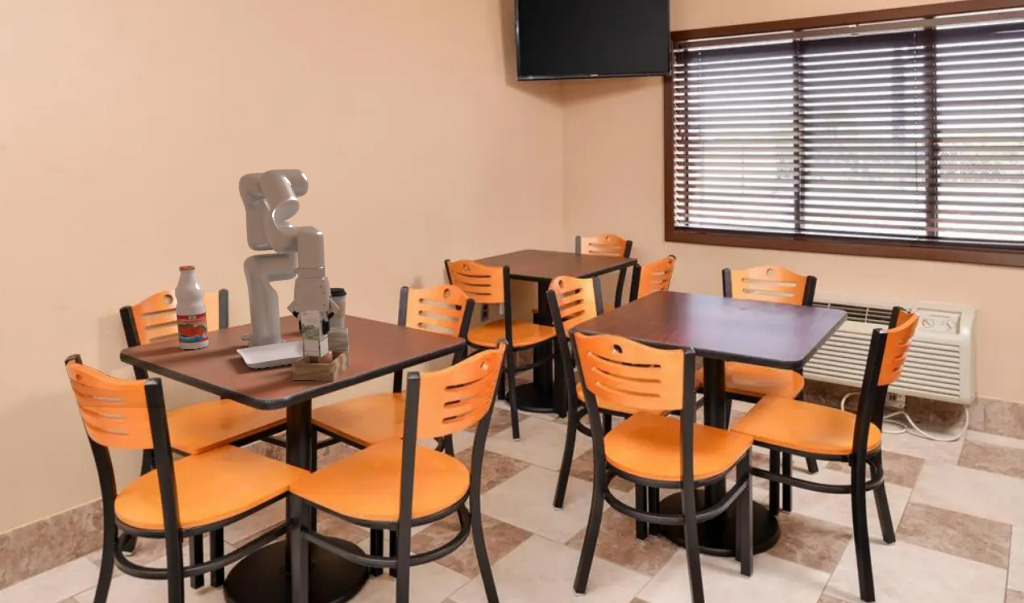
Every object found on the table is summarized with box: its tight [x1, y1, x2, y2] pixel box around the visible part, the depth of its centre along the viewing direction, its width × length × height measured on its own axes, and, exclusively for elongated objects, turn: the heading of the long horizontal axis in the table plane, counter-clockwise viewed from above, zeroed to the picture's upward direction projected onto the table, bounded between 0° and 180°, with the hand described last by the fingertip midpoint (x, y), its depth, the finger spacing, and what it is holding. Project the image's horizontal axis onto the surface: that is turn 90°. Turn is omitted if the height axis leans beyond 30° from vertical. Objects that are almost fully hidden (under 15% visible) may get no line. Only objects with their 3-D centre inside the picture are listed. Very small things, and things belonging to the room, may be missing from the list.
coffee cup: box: [328, 287, 347, 328], centre depth 291 cm, size 9×9×15 cm
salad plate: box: [236, 340, 303, 369], centre depth 248 cm, size 21×21×3 cm
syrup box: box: [301, 310, 328, 357], centre depth 227 cm, size 6×6×14 cm
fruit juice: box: [174, 265, 210, 350], centre depth 264 cm, size 9×9×28 cm
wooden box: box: [291, 327, 351, 382], centre depth 231 cm, size 17×12×12 cm
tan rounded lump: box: [318, 349, 333, 364], centre depth 235 cm, size 4×4×6 cm
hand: (314, 332), depth 227 cm, fingers closed on syrup box, 6 cm apart
